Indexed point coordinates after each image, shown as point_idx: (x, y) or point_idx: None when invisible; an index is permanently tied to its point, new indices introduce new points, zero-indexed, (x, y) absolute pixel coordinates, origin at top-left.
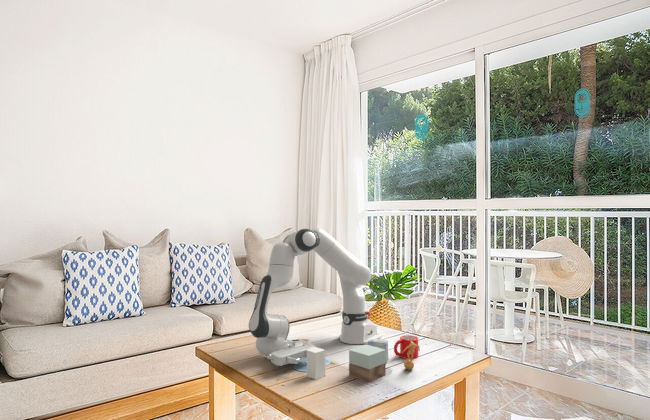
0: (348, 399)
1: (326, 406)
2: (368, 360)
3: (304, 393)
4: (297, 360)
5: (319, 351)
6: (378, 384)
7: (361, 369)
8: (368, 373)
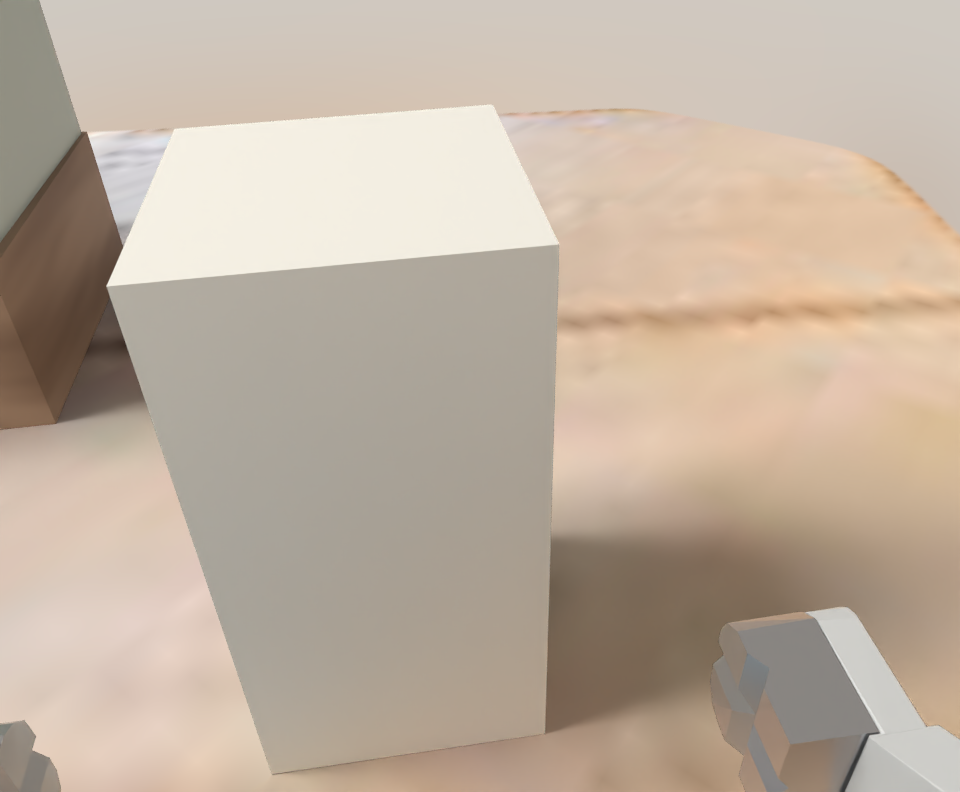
0: (530, 179)
1: (743, 177)
2: (45, 34)
3: (844, 343)
4: (798, 618)
5: (356, 117)
6: (118, 220)
7: (68, 199)
8: (99, 176)
